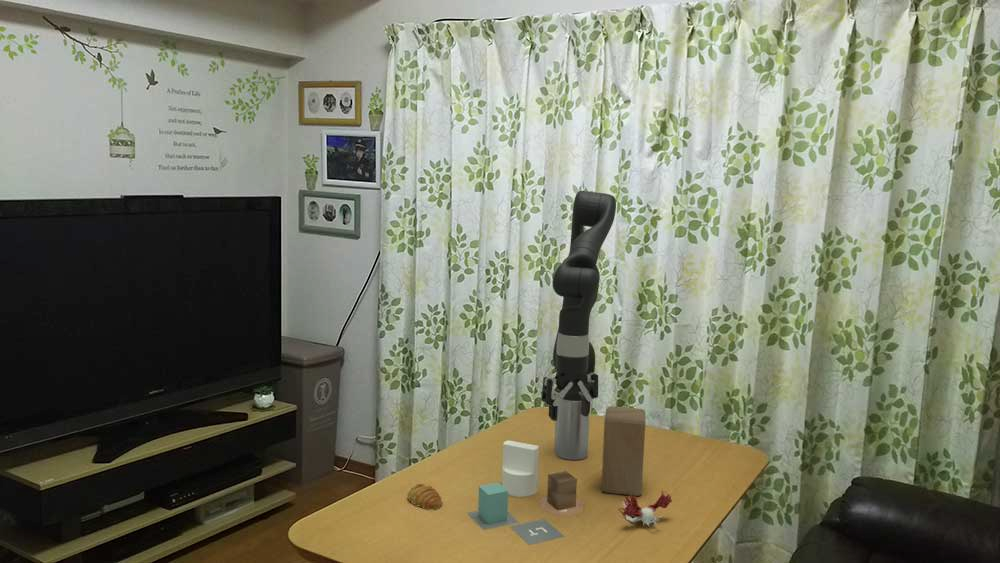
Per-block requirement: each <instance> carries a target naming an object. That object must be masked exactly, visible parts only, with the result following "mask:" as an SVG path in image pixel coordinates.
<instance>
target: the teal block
mask: <svg viewBox="0 0 1000 563" xmlns="http://www.w3.org/2000/svg"><path fill="white" fill-rule="evenodd" d="M508 502H509V495H508V490H506V489H505V488H504V487H503V486H502V483H499V482H494V483H489V484H483V485H479V486H478V510H477V511H478V515H479V516H480V517H481V518H482V519H483V520H484V521H485V522H486V523H487V524H491V523H495V522H500V521H504V520H507V513H508V512H509V511H508V508H509V507H508V506H509V504H508Z"/></svg>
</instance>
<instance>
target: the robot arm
mask: <svg viewBox="0 0 1000 563" xmlns="http://www.w3.org/2000/svg"><path fill="white" fill-rule="evenodd" d="M616 211H617V200H616V197H615V196H614V195H612V194H608V193H604V192H596V191H589V190H579V191H577V193H576V195H575V196H574V201H573V205H572V216H571V231H570V233H571V235H570V245H569V246H570V247H569V253H568V256H567V257H566V258H565V259H564V261H562V262H561V263H560V265H558V268H557V269H556V270H555V272H554V275H553V277H552V288H553V290H554V293H556V295H558V296H559V297H562V299H563V300H562V304H561V309H560V310H559V314H558V328H557V333H556V337H555V342H554V345H553V351H552V362H553V366H554V369H555V373H556V374H555V376H554V377H548V376H545V377H543V379H542V388H541V390H542V392H541V401H542V402H543V403H544V404H547V405H548V417H549V418H550V420H551V421H553V422H555V423H554V449H553V450H554V451H555V455H556V457H559V458H560V459H564V460H568V461H578V460H579V461H580V460H584V459H586V458H587V457H588V456H589V437H590V436H589V434H590V432H589V431H590V416H591V415H590V414H591V413H590V412H591V401H592V400H594V399H598V397H599V374H597V373H596V372H595V371H596V369H595V368H596V352H595V348H594V347H593V344H592V343H591V342H590V338H589V333H590V332H589V329H590V318H591V317H590V315H591V311H592V309H593V307H594V306H595V304H596V302H597V299H598V293H599V286H600V281H601V280H600V279H601V278H600V277H601V275H600V272H599V268H598V267H597V264H598V259H599V254H600V251H601V249H602V246H603V244H604V243H605V240H606V238H607V237H608V235H609V232H610V231H611V228H612V227H613V224H614V221H615V217H616ZM584 227H589V228H588V229H586V230H585V228H584ZM584 230H585V231H584ZM555 385H556V386H555ZM553 388H554V389H553Z"/></svg>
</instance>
